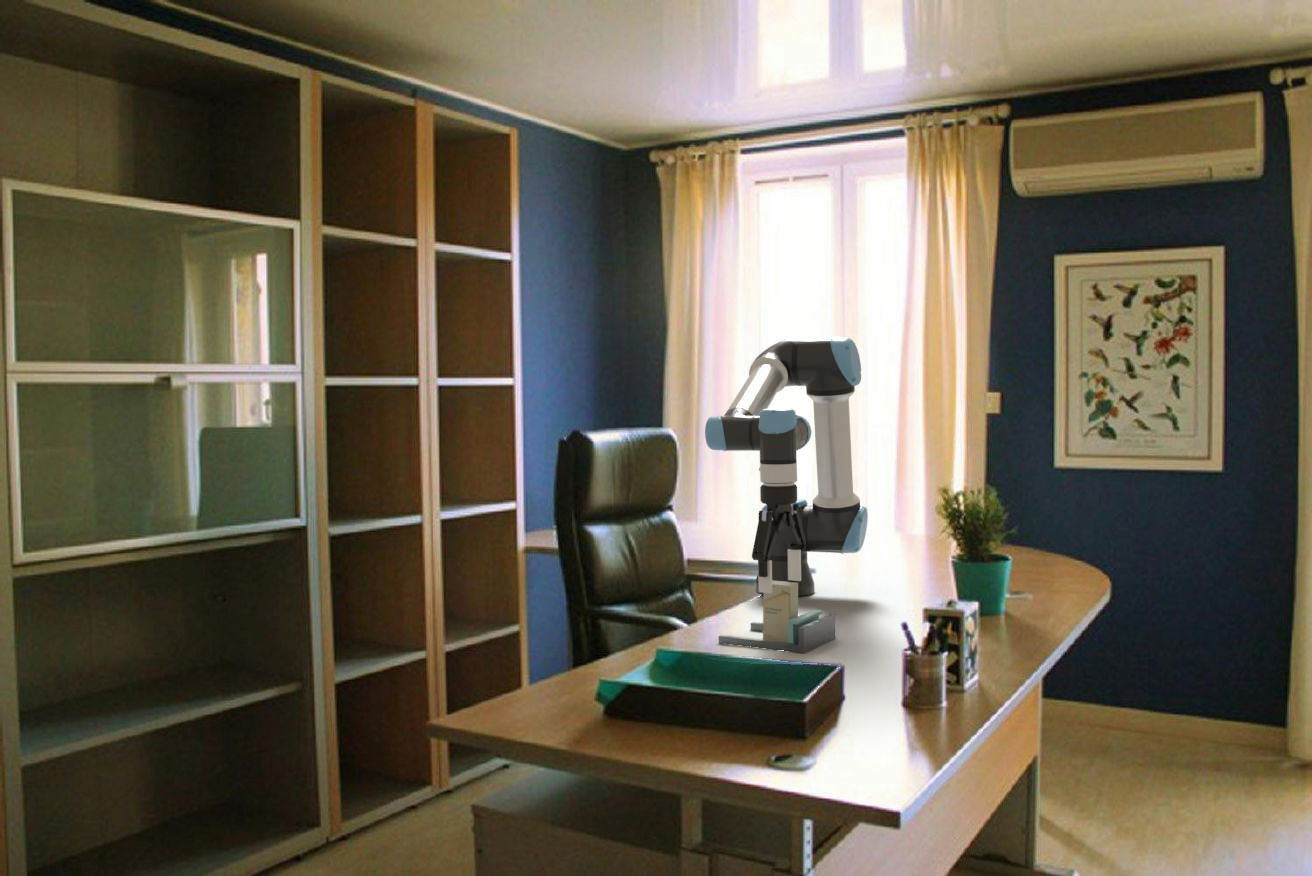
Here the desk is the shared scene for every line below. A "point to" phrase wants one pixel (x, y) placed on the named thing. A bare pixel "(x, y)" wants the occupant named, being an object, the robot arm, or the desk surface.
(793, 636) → the block
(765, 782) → the desk surface
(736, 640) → the lane
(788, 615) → the skincare box
